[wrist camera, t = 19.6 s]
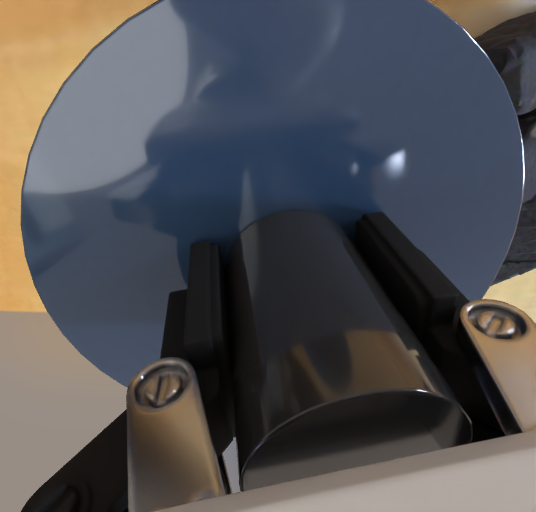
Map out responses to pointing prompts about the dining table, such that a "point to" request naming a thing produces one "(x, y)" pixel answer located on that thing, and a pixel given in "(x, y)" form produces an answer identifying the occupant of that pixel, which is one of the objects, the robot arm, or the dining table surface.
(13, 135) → the dining table surface
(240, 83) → the lid
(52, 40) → the dining table surface
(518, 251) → the dark slate chunk
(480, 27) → the dining table surface
